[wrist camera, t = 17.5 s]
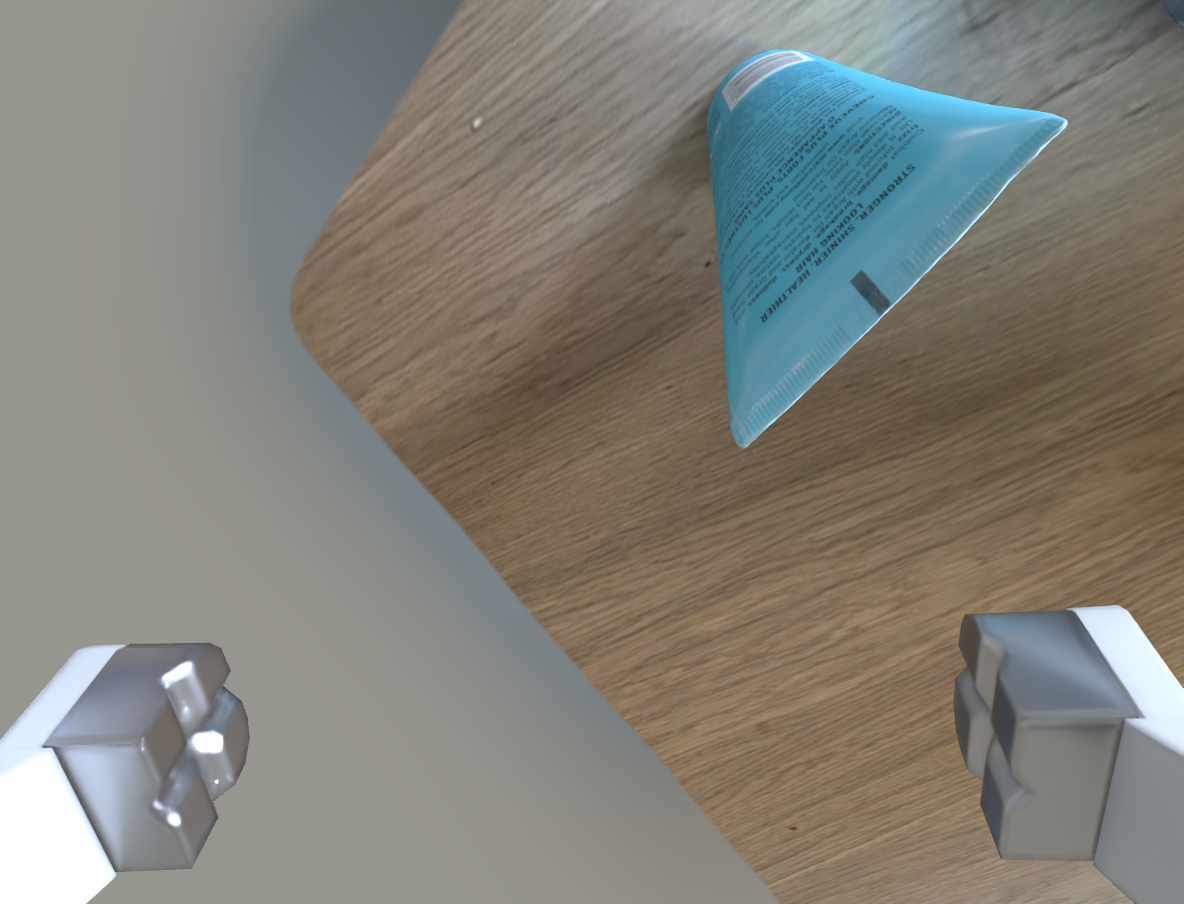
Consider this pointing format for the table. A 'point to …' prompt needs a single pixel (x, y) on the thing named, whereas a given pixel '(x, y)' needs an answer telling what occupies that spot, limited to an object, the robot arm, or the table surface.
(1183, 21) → the bowl
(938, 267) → the table surface
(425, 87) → the table surface
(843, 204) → the tube
